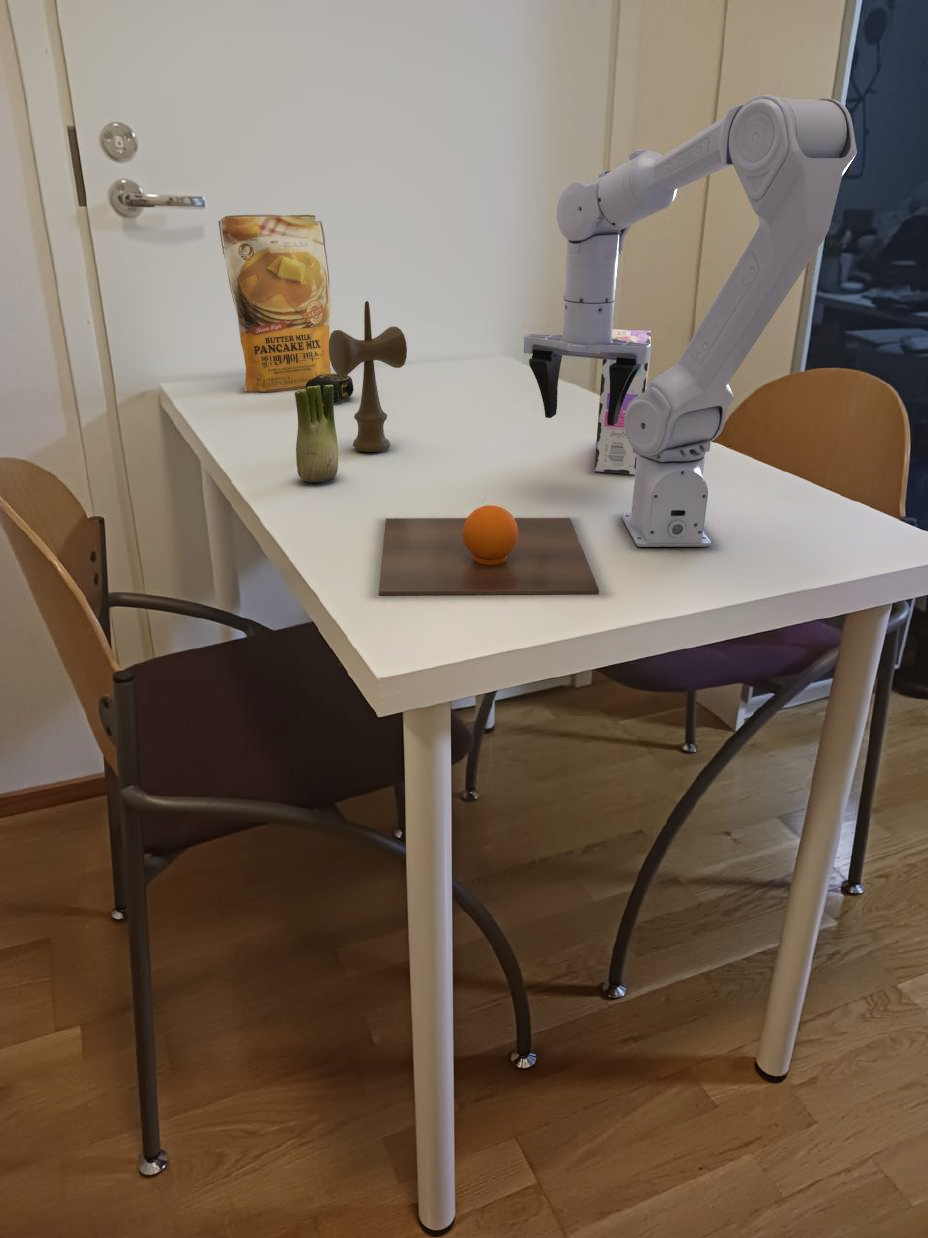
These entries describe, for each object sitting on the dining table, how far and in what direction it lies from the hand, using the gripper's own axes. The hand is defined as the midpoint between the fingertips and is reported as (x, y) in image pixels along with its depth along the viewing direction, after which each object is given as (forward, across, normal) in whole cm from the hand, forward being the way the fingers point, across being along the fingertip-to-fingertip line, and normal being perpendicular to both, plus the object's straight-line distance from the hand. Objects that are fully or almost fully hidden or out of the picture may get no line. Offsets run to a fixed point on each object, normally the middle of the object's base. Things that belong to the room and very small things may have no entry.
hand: (581, 419), depth 114 cm
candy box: (+10, 0, +17) cm, 20 cm away
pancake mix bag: (+10, -65, +34) cm, 74 cm away
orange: (+9, -1, -24) cm, 26 cm away
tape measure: (+10, -52, +29) cm, 60 cm away
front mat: (+9, -3, -23) cm, 25 cm away
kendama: (+10, -32, +6) cm, 34 cm away
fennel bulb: (+10, -31, -9) cm, 34 cm away
